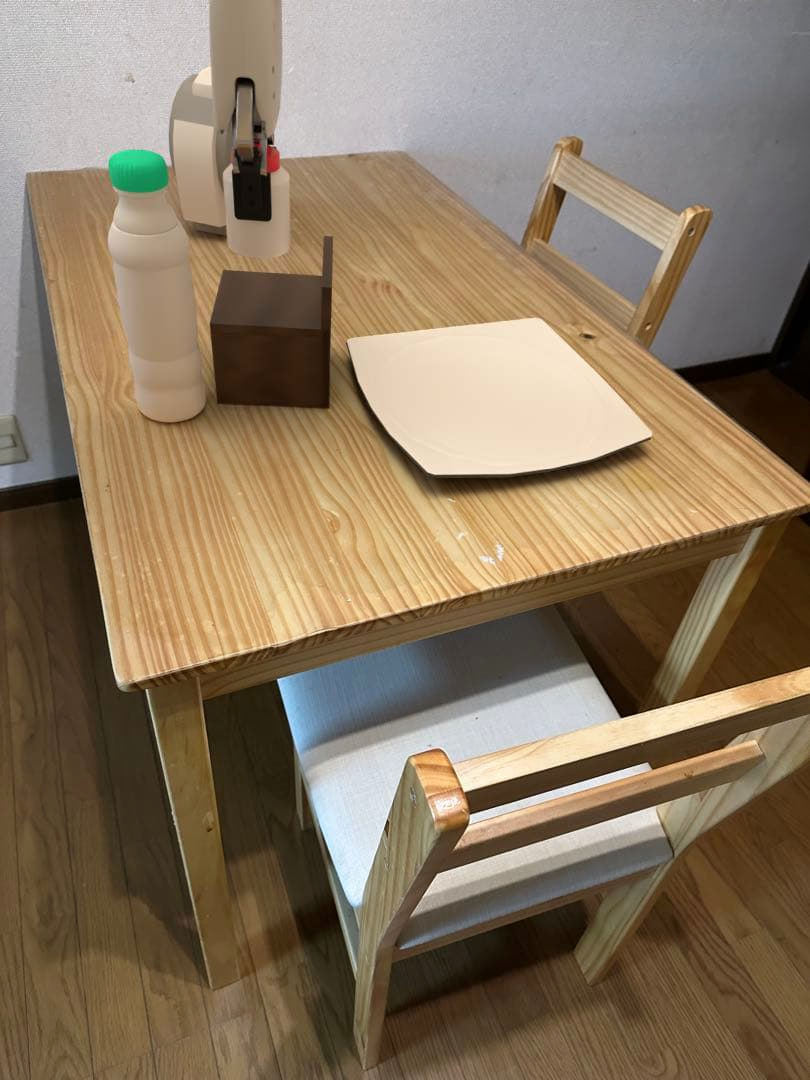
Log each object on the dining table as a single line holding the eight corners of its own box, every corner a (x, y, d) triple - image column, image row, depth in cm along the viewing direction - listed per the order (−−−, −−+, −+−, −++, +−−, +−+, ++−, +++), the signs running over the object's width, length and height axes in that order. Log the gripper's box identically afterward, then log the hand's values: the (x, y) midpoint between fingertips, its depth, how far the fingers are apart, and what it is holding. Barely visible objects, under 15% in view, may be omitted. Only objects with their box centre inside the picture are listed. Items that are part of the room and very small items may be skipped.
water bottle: (139, 388, 83) (96, 140, 66) (206, 386, 84) (181, 143, 67) (135, 426, 78) (86, 169, 61) (206, 424, 79) (178, 172, 62)
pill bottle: (298, 256, 72) (298, 161, 66) (236, 261, 70) (230, 164, 64) (280, 230, 75) (278, 139, 70) (220, 235, 73) (213, 141, 68)
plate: (330, 354, 92) (331, 334, 90) (539, 330, 101) (543, 311, 99) (418, 507, 73) (421, 486, 71) (664, 461, 82) (672, 441, 80)
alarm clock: (227, 195, 124) (217, 51, 110) (276, 205, 123) (273, 61, 109) (174, 236, 111) (155, 79, 97) (228, 248, 110) (217, 90, 96)
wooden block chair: (217, 403, 82) (205, 279, 73) (228, 346, 91) (219, 228, 81) (329, 408, 83) (332, 287, 74) (330, 351, 92) (333, 236, 82)
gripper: (211, -60, 63) (226, 169, 76) (176, -26, 51) (201, 241, 63) (302, -51, 64) (302, 175, 77) (289, -15, 52) (292, 247, 64)
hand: (256, 203), depth 70 cm, fingers closed on pill bottle, 5 cm apart
